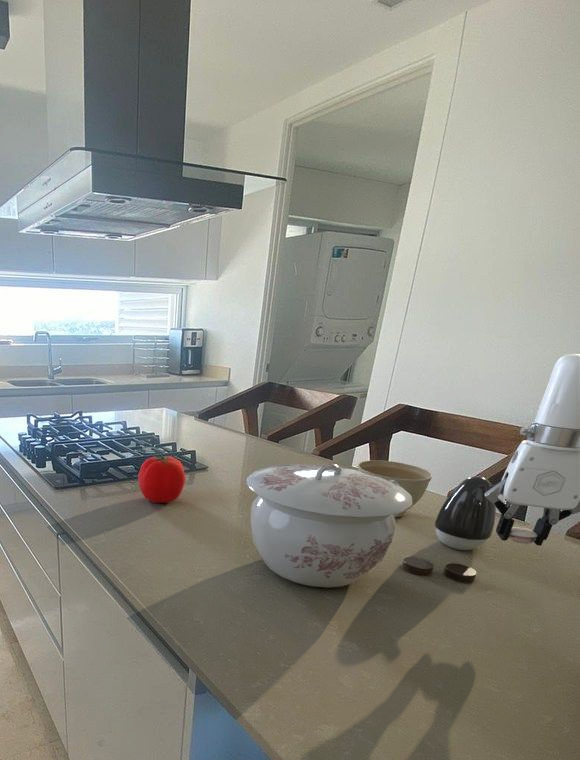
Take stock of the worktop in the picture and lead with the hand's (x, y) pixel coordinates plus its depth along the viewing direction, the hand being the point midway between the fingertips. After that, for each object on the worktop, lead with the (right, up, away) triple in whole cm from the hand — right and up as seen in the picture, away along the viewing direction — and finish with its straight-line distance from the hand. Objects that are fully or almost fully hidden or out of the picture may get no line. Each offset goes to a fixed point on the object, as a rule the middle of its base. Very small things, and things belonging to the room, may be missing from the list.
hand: (518, 539), depth 85 cm
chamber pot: (-34, -6, +7) cm, 35 cm away
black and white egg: (+2, -2, +19) cm, 19 cm away
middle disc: (-7, -7, +6) cm, 11 cm away
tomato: (-60, +10, +41) cm, 74 cm away
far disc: (-13, -6, +8) cm, 17 cm away
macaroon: (0, 0, 0) cm, 1 cm away
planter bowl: (-5, +7, +36) cm, 37 cm away
